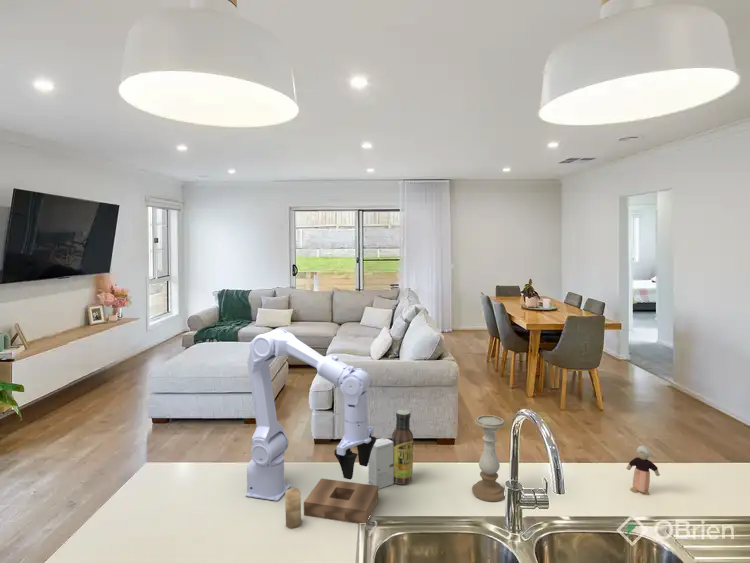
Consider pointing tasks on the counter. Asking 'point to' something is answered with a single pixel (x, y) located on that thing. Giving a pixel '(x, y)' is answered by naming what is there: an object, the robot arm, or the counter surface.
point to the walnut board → (341, 501)
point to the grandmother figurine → (642, 470)
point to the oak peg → (293, 508)
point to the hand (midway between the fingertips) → (355, 471)
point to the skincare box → (381, 463)
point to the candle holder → (489, 461)
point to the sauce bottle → (403, 448)
